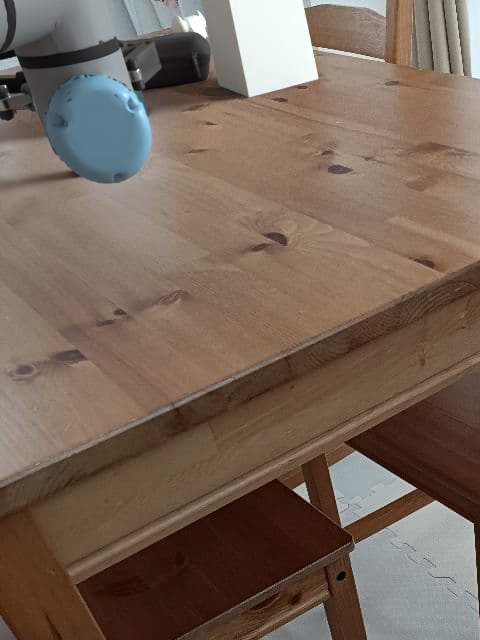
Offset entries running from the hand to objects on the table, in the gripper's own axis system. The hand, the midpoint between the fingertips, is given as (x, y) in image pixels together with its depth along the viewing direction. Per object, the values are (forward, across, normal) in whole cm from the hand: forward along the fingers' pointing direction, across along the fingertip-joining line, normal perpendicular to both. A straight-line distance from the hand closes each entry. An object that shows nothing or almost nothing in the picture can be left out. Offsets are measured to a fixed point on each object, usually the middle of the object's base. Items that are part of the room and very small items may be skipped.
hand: (51, 63), depth 84 cm
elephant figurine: (+66, +29, -12) cm, 73 cm away
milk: (+28, +31, -12) cm, 43 cm away
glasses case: (+43, +18, -12) cm, 48 cm away
